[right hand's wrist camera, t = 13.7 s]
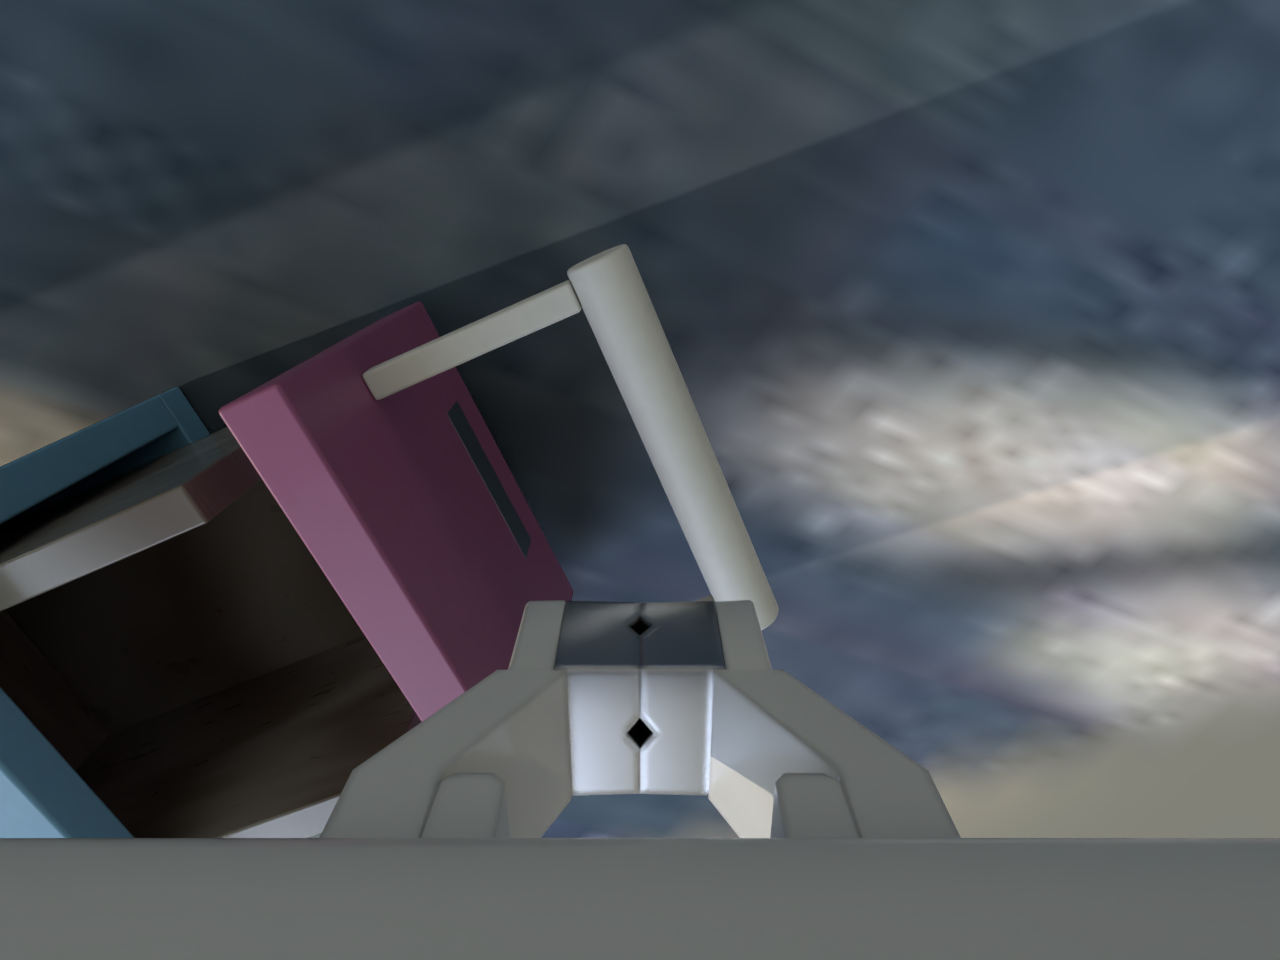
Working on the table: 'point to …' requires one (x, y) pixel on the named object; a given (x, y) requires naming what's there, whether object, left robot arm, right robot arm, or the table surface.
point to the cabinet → (3, 735)
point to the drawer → (323, 569)
